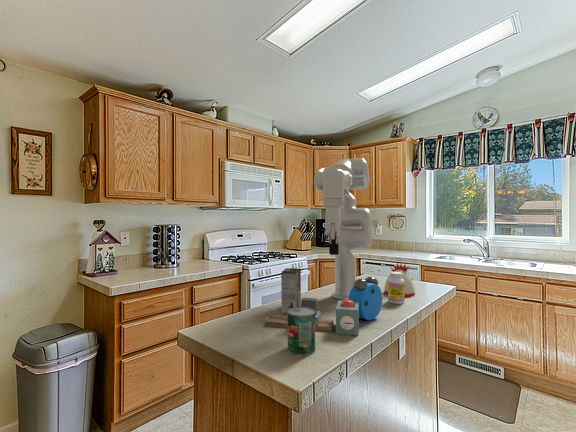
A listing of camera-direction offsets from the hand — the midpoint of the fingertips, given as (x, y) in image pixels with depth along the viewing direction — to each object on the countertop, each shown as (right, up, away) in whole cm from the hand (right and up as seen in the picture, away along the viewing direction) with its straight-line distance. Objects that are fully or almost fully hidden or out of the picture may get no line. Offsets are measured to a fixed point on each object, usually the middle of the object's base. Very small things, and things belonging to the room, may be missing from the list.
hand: (334, 254), depth 112 cm
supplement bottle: (+30, -24, +22) cm, 45 cm away
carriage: (-9, -22, -6) cm, 25 cm away
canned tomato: (-13, -24, -25) cm, 37 cm away
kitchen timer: (+37, -24, +37) cm, 58 cm away
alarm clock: (+12, -24, +1) cm, 27 cm away
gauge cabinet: (+3, -24, -9) cm, 26 cm away
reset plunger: (+3, -19, -9) cm, 22 cm away
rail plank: (-13, -24, -5) cm, 28 cm away
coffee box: (-15, -24, +12) cm, 31 cm away
